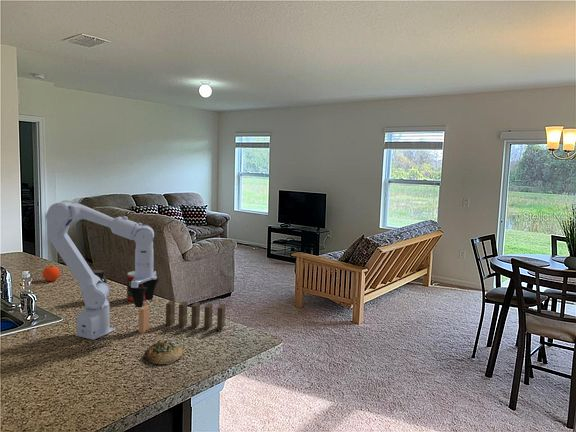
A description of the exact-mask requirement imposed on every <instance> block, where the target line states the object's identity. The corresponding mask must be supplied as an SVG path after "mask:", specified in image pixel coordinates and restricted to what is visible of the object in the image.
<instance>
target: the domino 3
mask: <svg viewBox="0 0 576 432" xmlns="http://www.w3.org/2000/svg"><path fill="white" fill-rule="evenodd" d="M186 325H188V301H185V300H184V301H183V300H182V302H180V304H179V305H178V328H179V327H184V326H185V327H186ZM185 327H184V328H185Z"/></svg>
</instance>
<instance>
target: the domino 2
mask: <svg viewBox="0 0 576 432" xmlns="http://www.w3.org/2000/svg"><path fill="white" fill-rule="evenodd" d="M175 316H176V301H175V300H171V299H170V300H169V301H168V302H167V303H165V327H166V326H171V325H172V326H173V325H174V324H176V322H175V321H176V320H175V318H176V317H175ZM172 326H171V327H172Z"/></svg>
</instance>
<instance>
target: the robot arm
mask: <svg viewBox="0 0 576 432" xmlns="http://www.w3.org/2000/svg"><path fill="white" fill-rule="evenodd" d="M44 218H45V220H46V236H47V238H48V240H49V241H50V243H51V244H52V246H53V247H54V249H55V250H56V252H57V253H58V254H59V256H60V258H61V259H62V260H63V262H64V264H65V265H66V267H68V270H69V271H70V273H71V274H72V275H73V276H74V278H75V279H76V281H77V283H78V285H79V290H80V293H81V295H82V297H83V303H84V308H83V309H82V310H81V311H79V312H78V314H77V316H76V333H74V335H75V336H76V337H79V338H85V339H87V340H91V341H94V340H96V339H98V338H101V337H103V336H106V335H107V334H109V333H112V332H114V331H116V328H114V327H110V302H109V301H108V297H109V296H110V295H111V294H110V293H111V288H110V286H109V285H108V283H107V284H106V283H104V282H102V281H101V279H100V278H99V277H98V276H96V275H95V274H94V273H93V272H92V271H93V269H91V267H90V266H89V264H88V263H87V261H86V260H85V258H84V257H83V255H82V253H81V252H80V251H79V249H78V247H77V246H76V244H75V243H74V242H73V240H72V238H71V237H70V235H69V234H68V231H69V228H70V225H71V223H72V222H73V221H79V220H86V221H89V222H92V223H95V224H98V225H101V226H103V227H107V228H109V229H110V231H111V233H112V234H114V235H116V236H119V237H122V238H125V239H128V240H130V241H134V242H135V250H134V271H135V276H134V279H133V281H131V285H130V286H128V289H129V291H130V292H131V294H132V296H133V300H134V302H133V304H134V305H135V308H141V307H143V306H144V302H145V301H152V300H153V298H154V295H155V291H156V288H157V285H158V284H159V281H160V278H159V277H158V276H157V271H156V270H154V256H155V255H154V253H155V252H154V238H155V231H154V229H153V228H152V227H151V226H150V225H148V224H143V223H142V222H135V221H133V220H130V219H129V218H128V216H126V215H123V217H122V216H118V217H111V216H110V215H108V214H105V213H103V212H101V211H98V210H95V209H94V208H91V207H88V206H86V205H84V204H81V203H77V202H73V201H71V200H62V201H60V202H56V203H53V204H51V205H50V206H49V208H48V210H47V212H46V214H45V217H44ZM142 283H143V286H144V287H142V286H141V284H142ZM144 295H145V299H146V300H145V301H144Z"/></svg>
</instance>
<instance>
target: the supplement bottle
mask: <svg viewBox="0 0 576 432" xmlns="http://www.w3.org/2000/svg"><path fill="white" fill-rule="evenodd" d="M92 272H93V273H94V274H95V275H96V276H98V277H99V278H100V279H101V281H102V282H104V283H106V284H107V285H108V280H107V277H105V270H103V269H102V270H101V269H95V270H92Z"/></svg>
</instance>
